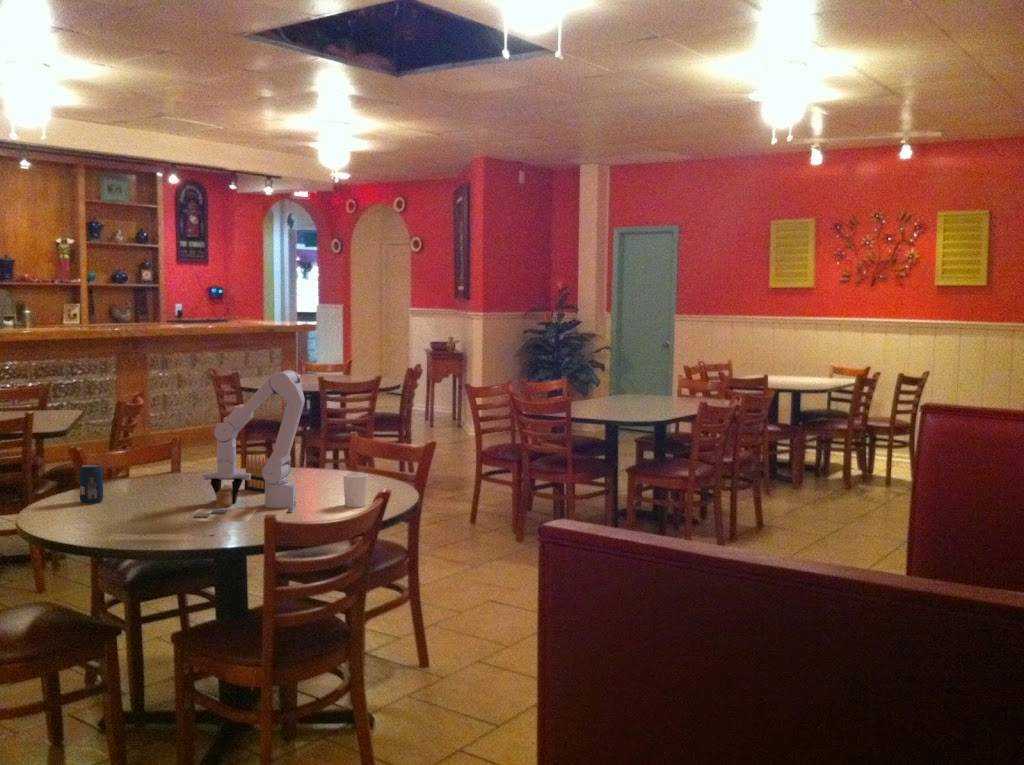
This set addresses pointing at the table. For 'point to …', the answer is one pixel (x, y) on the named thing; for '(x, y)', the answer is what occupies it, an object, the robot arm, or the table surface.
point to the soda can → (91, 483)
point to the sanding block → (224, 496)
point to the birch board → (225, 515)
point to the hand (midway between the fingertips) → (226, 502)
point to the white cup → (355, 489)
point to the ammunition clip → (255, 474)
